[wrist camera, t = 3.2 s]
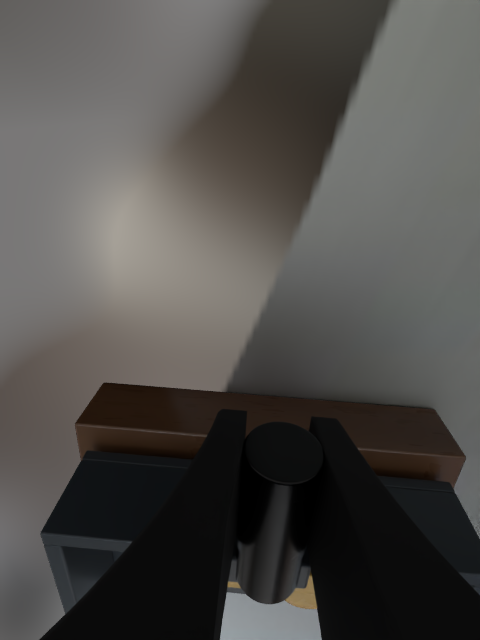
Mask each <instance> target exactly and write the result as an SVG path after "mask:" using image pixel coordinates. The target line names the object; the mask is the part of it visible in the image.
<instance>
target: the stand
mask: <svg viewBox="0 0 480 640" xmlns="http://www.w3.org/2000/svg"><path fill="white" fill-rule="evenodd" d="M221 409H231V410H243V411H247V421H246V436H245V439H246V437H247V435H248V434H249V433H250V432H251V431H252V430H253V429H254V428H256V427H257V426H259V425H262V424H265V423H268V422H288V423H292V424H295V425H298V426H300V427H302V428H304V429H306V430H307V431H309V426H310V421H311V416H314V417H326V418H337V420H338V421H339V422H340V423H341V425H342V426H343V428H344V429H345V431H346V432H347V434H348V435H349V437H350V438H351V440H352V441H353V442H354V444H355V445H356V447H357V448H358V450H359V451H360V453H361V454H362V455H363V457H364V458H365V460H366V461H367V462H368V464H369V465H370V467H371V468H372V469H373V471H374V472H375V473H376V475H377V476H386V477H397V478H409V479H420V480H432V481H443V482H450V484H451V485H452V487H453V488H454V486H455V483H456V481H457V479H458V476H459V474H460V472H461V469H462V467H463V464H464V462H465V460H466V456H465V455H464V453H463V452H462V450H461V449H460V447H459V446H458V444H457V442H456V441H455V439H454V438H453V436H452V435H451V433H450V432H449V430H448V429H447V427H446V426H445V424H444V423H443V421H442V420H441V418H440V417H439V415H438V414H437V412H436V411H435V410H433V409H423V408H411V407H399V406H386V405H374V404H362V403H350V402H337V401H325V400H313V399H301V398H288V397H276V396H264V395H251V394H239V393H227V392H213V391H201V390H190V389H178V388H166V387H153V386H140V385H128V384H116V383H103V384H102V386H101V387H100V389H99V390H98V391H97V393H96V395H95V396H94V397H93V399H92V400H91V401H90V403H89V404H88V406H87V407H86V409H85V410H84V412H83V413H82V415H81V416H80V417H79V419H78V420H77V422H76V423H75V428H76V434H77V440H78V446H79V452H80V458H81V461H82V458H83V456H84V455H85V453H86V451H88V450H89V451H100V452H112V453H123V454H135V455H146V456H157V457H169V458H180V459H192V460H193V459H194V457H195V456H196V454H197V452H198V451H199V449H200V447H201V446H202V444H203V442H204V440H205V439H206V437H207V435H208V433H209V431H210V429H211V427H212V425H213V423H214V420H215V418H216V415H217V413H218V412H219V411H220V410H221Z"/></svg>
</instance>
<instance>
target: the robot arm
mask: <svg viewBox="0 0 480 640" xmlns="http://www.w3.org/2000/svg"><path fill="white" fill-rule="evenodd" d="M246 421H247V411H243V410H231V409H221V410H220V411H219V412H218V413H217V415H216V418H215V420H214V423H213V425H212V427H211V429H210V431H209V433H208V435H207V437H206V439H205V440H204V442H203V444H202V446H201V447H200V449H199V451H198V452H197V454H196V456H195V457H194V459H193V460H192V462H191V464H190V465H189V467H188V468H187V470H186V471H185V473H184V475H183V476H182V477H181V479H180V480H179V482H178V483H177V485H176V486H175V487H174V489H173V490H172V491H171V493H170V494H169V496H168V497H167V498H166V500H165V501H164V503H163V504H162V505H161V507H160V508H159V509H158V511H157V512H156V513H155V515H154V516H153V517H152V518H151V520H150V521H149V522H148V524H147V525H146V526H145V527H144V528H143V530H142V531H141V532H140V533H139V535H138V536H137V537H136V538H135V539H134V540H133V542H132V543H131V544H130V545H129V546H128V548H127V549H126V550H125V551H124V552H123V553H122V555H121V556H120V557H119V558H118V559H117V560H116V561H115V562H114V563H113V565H112V566H111V567H110V568H109V569H108V570H107V571H106V572H105V573H104V574H103V576H102V577H101V578H100V579H99V580H98V581H97V582H96V583H95V584H94V585H93V586H92V588H91V589H90V590H89V591H88V592H87V593H86V594H85V595H84V596H83V597H82V598H81V599H80V600H79V601H78V602H77V603H76V604H75V605H74V606H73V607H72V608H71V609H70V610H69V611H68V612H67V613H66V614H65V615H64V616H63V617H62V618H61V619H60V620H59V621H58V622H57V623H56V624H55V625H54V626H53V627H52V628H51V629H50V630H49V631H48V632H47V633H46V634H45V635H44V636H43V637H42V638H41V639H40V640H220V633H221V626H222V618H223V612H224V606H225V599H226V593H227V587H228V581H229V575H230V569H231V562H232V556H233V550H234V544H235V537H236V531H237V518H238V505H239V492H240V479H241V466H242V454H243V444H244V441H245V436H246ZM309 432H310V433H311V434H313V435H314V436H315V437H316V438H317V440H318V441H319V442H320V444H321V446H322V448H323V451H324V455H325V463H324V468H323V472H322V477H321V481H320V486H319V490H318V495H317V499H316V504H315V508H314V513H313V517H312V522H311V526H310V531H309V535H308V540H307V549H308V555H309V561H310V568H311V574H312V580H313V586H314V592H315V598H316V604H317V610H318V617H319V623H320V629H321V637H322V640H480V595H479V594H478V593H477V592H476V590H475V589H474V588H473V587H472V586H471V585H470V584H469V583H468V582H467V581H466V580H465V579H464V578H463V577H462V576H461V575H460V574H459V573H458V571H457V570H456V569H455V568H454V567H453V566H452V565H451V564H450V563H449V562H448V561H447V560H446V559H445V557H444V556H443V555H442V554H441V553H440V552H439V551H438V550H437V549H436V547H435V546H434V545H433V544H432V543H431V542H430V541H429V539H428V538H427V537H426V536H425V535H424V534H423V532H422V531H421V530H420V529H419V528H418V526H417V525H416V524H415V523H414V522H413V520H412V519H411V518H410V517H409V516H408V515H407V513H406V512H405V511H404V510H403V508H402V507H401V506H400V505H399V503H398V502H397V501H396V500H395V498H394V497H393V496H392V494H391V493H390V492H389V490H388V489H387V488H386V487H385V485H384V484H383V483H382V481H381V480H380V479H379V477H378V476H377V475H376V473H375V472H374V471H373V469H372V468H371V467H370V465H369V464H368V462H367V461H366V460H365V458H364V457H363V455H362V454H361V453H360V451H359V450H358V448H357V447H356V445H355V444H354V442H353V441H352V440H351V438H350V437H349V435H348V434H347V432H346V431H345V429H344V428H343V426H342V425H341V423H340V422H339V421H338V420H337V418H326V417H314V416H311V421H310V426H309Z"/></svg>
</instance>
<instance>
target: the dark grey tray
mask: <svg viewBox="0 0 480 640" xmlns="http://www.w3.org/2000/svg"><path fill="white" fill-rule="evenodd" d="M191 462H192V459H180V458H169V457H157V456H146V455H135V454H123V453H112V452H100V451H89V450H88V451H86V453H85V455H84V456H83V458H82V461H81V462H80V464H79V465H78V467H77V469H76V471H75V473H74V475H73V476H72V478H71V480H70V481H69V483H68V485H67V487H66V489H65V491H64V492H63V494H62V496H61V497H60V499H59V501H58V503H57V504H56V506H55V508H54V510H53V512H52V513H51V515H50V517H49V519H48V520H47V522H46V524H45V526H44V528H43V530H42V531H41V538H42V541H43V543H44V547H45V550H46V553H47V557H48V560H49V563H50V566H51V570H52V573H53V576H54V579H55V582H56V586H57V589H58V592H59V595H60V598H61V602H62V605H63V608H64V611H65V614H66V613H67V612H68V611H69V610H70V609H71V608H72V607H73V606H74V605H75V604H76V603H77V602H78V601H79V600H80V599H81V598H82V597H83V596H84V595H85V594H86V593H87V592H88V591H89V590H90V589H91V588H92V586H93V585H94V584H95V583H96V582H97V581H98V580H99V579H100V578H101V577H102V576H103V574H104V573H105V572H106V571H107V570H108V569H109V568H110V567H111V566H112V565H113V563H114V562H115V561H116V560H117V559H118V558H119V557H120V556H121V555H122V553H123V552H124V551H125V550H126V549H127V548H128V546H129V545H130V544H131V543H132V542H133V540H134V539H135V538H136V537H137V536H138V535H139V533H140V532H141V531H142V530H143V528H144V527H145V526H146V525H147V524H148V522H149V521H150V520H151V518H152V517H153V516H154V515H155V513H156V512H157V511H158V509H159V508H160V507H161V505H162V504H163V503H164V501H165V500H166V498H167V497H168V496H169V494H170V493H171V491H172V490H173V489H174V487H175V486H176V485H177V483H178V482H179V480H180V479H181V477H182V476H183V475H184V473H185V471H186V470H187V468H188V467H189V465H190V464H191ZM324 463H325V455H324V451H323V448H322V446H321V444H320V442H319V441H318V440H317V438H316V437H315V436H314V435H313V434H311V433H310V432H309V431H307V430H306V429H304V428H302V427H300V426H298V425H295V424H292V423H288V422H268V423H265V424H262V425H259V426H257V427H256V428H254V429H253V430H252V431H251V432H250V433H249V434H248V435H247V437H246V439H245V441H244V444H243V454H242V466H241V479H240V492H239V505H238V518H237V531H236V537H235V544H234V550H233V556H232V562H231V569H230V575H229V582H238V584H239V586H240V587H241V588H232V587H227V592H231V593H241V594H246V595H248V596H249V597H250V598H252V599H253V600H255V601H257V602H260V603H264V604H276V603H279V602H282V601H284V600H285V599H287V598H288V597H289V596H290V595H291V594H292V593H293V592H294V590H295V588H301V589H304V588H306V587H307V583H308V579H309V575H310V571H311V568H310V561H309V555H308V549H307V540H308V535H309V531H310V526H311V522H312V517H313V513H314V508H315V504H316V499H317V495H318V490H319V486H320V481H321V477H322V472H323V468H324ZM378 477H379V479H380V480H381V481H382V483H383V484H384V485H385V487H386V488H387V489H388V490H389V492H390V493H391V494H392V496H393V497H394V498H395V500H396V501H397V502H398V503H399V505H400V506H401V507H402V508H403V510H404V511H405V512H406V513H407V515H408V516H409V517H410V518H411V519H412V520H413V522H414V523H415V524H416V525H417V526H418V528H419V529H420V530H421V531H422V532H423V534H424V535H425V536H426V537H427V538H428V539H429V541H430V542H431V543H432V544H433V545H434V546H435V547H436V549H437V550H438V551H439V552H440V553H441V554H442V555H443V556H444V557H445V559H446V560H447V561H448V562H449V563H450V564H451V565H452V566H453V567H454V568H455V569H456V570H457V571H458V573H459V574H460V575H461V576H462V577H463V578H464V579H465V580H466V581H467V582H468V583H469V584H470V585H471V586H472V587H473V588H474V589H475V590H476V592H477V593H478V594H479V595H480V539H479V537H478V535H477V533H476V531H475V529H474V528H473V526H472V524H471V522H470V520H469V518H468V516H467V514H466V512H465V510H464V509H463V507H462V505H461V503H460V501H459V499H458V497H457V495H456V494H455V492H454V489H453V487H452V485H451V484H450V482H443V481H432V480H420V479H409V478H397V477H386V476H378Z"/></svg>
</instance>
